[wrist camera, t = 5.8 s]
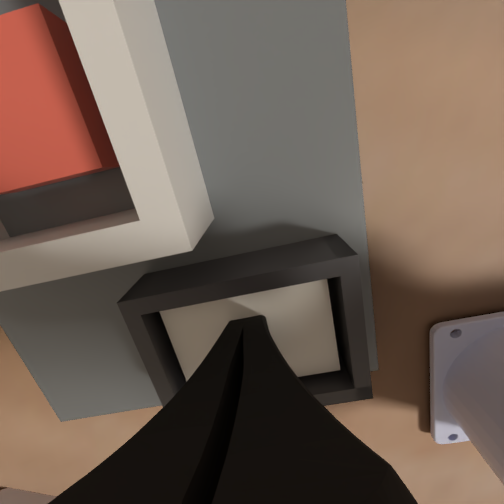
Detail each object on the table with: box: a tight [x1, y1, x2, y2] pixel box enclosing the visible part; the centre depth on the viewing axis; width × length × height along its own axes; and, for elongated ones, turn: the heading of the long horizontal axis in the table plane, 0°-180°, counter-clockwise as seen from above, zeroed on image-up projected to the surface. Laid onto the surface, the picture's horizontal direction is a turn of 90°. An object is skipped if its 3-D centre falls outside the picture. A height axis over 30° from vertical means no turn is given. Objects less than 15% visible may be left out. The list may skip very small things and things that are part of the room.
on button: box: [159, 279, 340, 381], centre depth 11 cm, size 6×4×1 cm, turn 103°
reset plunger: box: [0, 3, 120, 195], centre depth 8 cm, size 4×4×1 cm
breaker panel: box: [0, 0, 379, 422], centre depth 9 cm, size 16×18×5 cm
